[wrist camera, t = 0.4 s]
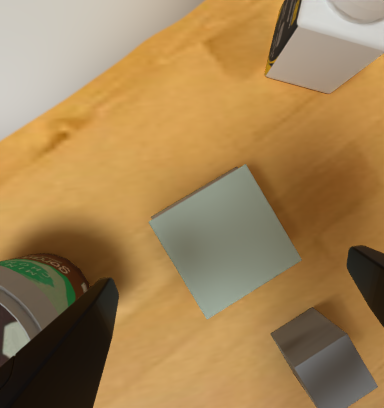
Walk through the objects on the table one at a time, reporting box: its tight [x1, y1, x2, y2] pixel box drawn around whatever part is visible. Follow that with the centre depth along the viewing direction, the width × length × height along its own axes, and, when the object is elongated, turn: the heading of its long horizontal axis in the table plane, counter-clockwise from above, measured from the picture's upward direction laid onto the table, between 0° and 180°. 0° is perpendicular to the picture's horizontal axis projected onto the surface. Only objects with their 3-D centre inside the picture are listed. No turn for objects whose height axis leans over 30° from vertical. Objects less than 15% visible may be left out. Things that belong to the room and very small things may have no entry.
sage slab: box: [149, 164, 302, 319], centre depth 20 cm, size 9×9×2 cm
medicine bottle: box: [265, 0, 384, 94], centre depth 18 cm, size 7×7×12 cm
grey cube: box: [271, 307, 378, 408], centre depth 21 cm, size 5×5×5 cm
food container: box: [0, 254, 90, 367], centre depth 17 cm, size 12×6×10 cm, turn 84°
